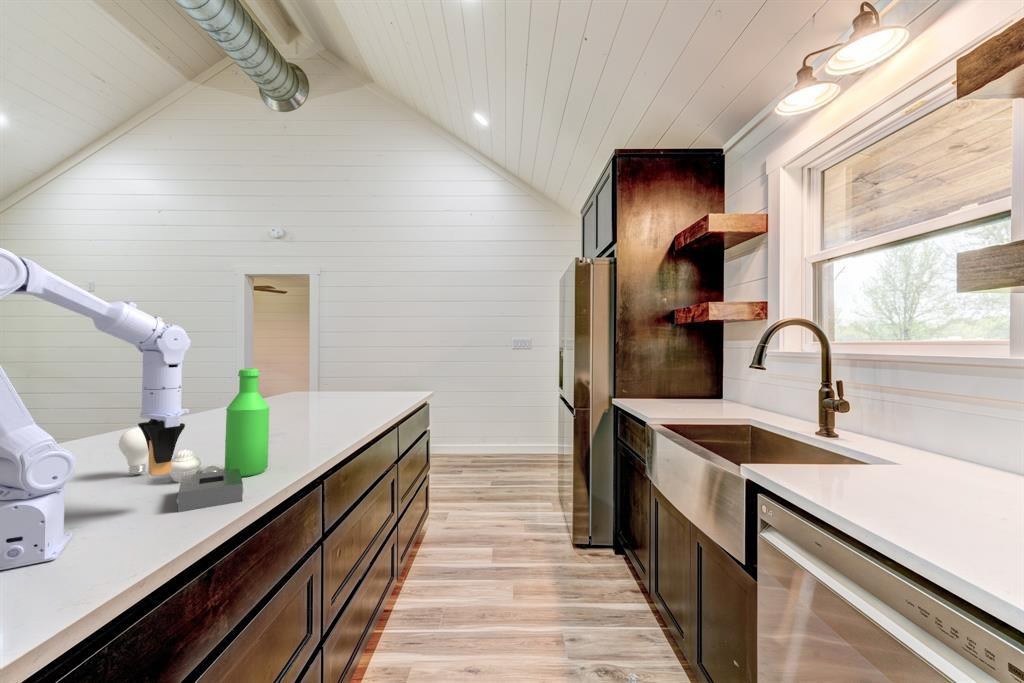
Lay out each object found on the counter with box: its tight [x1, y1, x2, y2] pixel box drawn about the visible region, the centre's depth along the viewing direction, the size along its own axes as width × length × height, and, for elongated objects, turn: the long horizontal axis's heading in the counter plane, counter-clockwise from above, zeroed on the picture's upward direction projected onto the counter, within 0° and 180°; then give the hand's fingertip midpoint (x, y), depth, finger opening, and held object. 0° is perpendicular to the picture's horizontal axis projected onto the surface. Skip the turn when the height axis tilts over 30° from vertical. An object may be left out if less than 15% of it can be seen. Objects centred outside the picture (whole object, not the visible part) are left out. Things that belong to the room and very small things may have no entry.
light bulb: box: [118, 427, 149, 476], centre depth 98 cm, size 7×7×11 cm
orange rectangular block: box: [148, 440, 173, 477], centre depth 79 cm, size 3×3×6 cm
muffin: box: [168, 448, 202, 483], centre depth 95 cm, size 6×6×7 cm
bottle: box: [224, 368, 270, 478], centre depth 102 cm, size 9×9×25 cm
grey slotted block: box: [176, 465, 244, 513], centre depth 87 cm, size 17×11×4 cm, turn 36°
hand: (160, 460), depth 79 cm, fingers closed on orange rectangular block, 3 cm apart
